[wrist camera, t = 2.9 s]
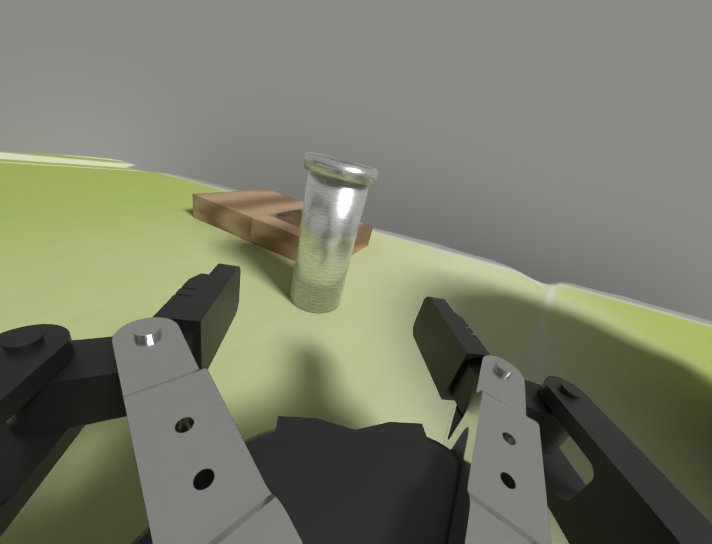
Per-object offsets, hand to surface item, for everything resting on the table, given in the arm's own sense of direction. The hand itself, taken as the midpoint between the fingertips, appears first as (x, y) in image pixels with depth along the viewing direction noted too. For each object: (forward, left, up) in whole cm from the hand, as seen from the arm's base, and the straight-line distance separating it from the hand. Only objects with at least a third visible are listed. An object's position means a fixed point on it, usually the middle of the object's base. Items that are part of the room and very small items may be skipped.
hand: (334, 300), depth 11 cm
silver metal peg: (-6, +10, -7) cm, 13 cm away
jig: (-18, +22, -7) cm, 29 cm away
